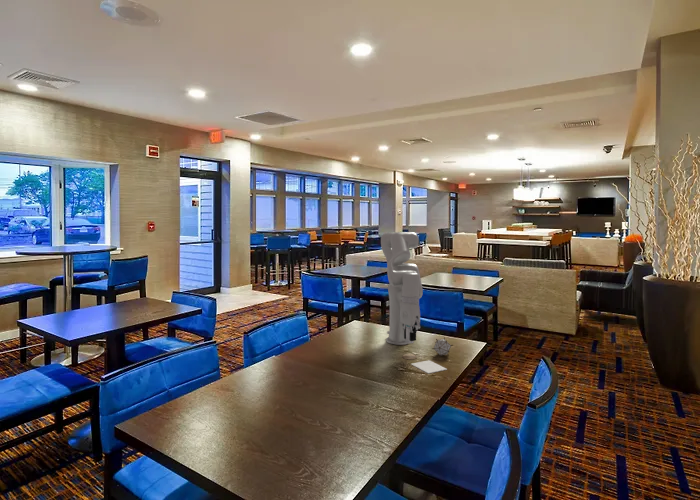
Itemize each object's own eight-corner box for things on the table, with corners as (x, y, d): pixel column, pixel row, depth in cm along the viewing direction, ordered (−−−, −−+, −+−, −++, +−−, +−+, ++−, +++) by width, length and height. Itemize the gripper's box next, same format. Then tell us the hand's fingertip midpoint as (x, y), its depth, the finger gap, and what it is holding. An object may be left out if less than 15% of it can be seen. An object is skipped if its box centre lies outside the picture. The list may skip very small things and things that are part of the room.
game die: (445, 364, 191) (455, 351, 185) (428, 357, 191) (437, 344, 185) (446, 349, 199) (455, 336, 193) (429, 343, 198) (438, 330, 193)
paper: (410, 364, 180) (410, 363, 180) (429, 360, 185) (429, 360, 185) (428, 373, 170) (428, 373, 170) (447, 369, 174) (447, 368, 174)
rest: (399, 356, 191) (399, 355, 191) (410, 354, 194) (411, 353, 194) (407, 360, 185) (407, 359, 185) (419, 358, 188) (419, 357, 188)
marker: (404, 341, 189) (404, 322, 189) (410, 340, 191) (410, 321, 190) (408, 343, 186) (409, 324, 185) (415, 342, 188) (415, 323, 187)
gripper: (393, 297, 193) (393, 336, 194) (414, 303, 178) (414, 345, 179) (406, 296, 196) (406, 334, 198) (428, 302, 182) (428, 343, 183)
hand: (410, 339), depth 188 cm, fingers closed on marker, 3 cm apart
